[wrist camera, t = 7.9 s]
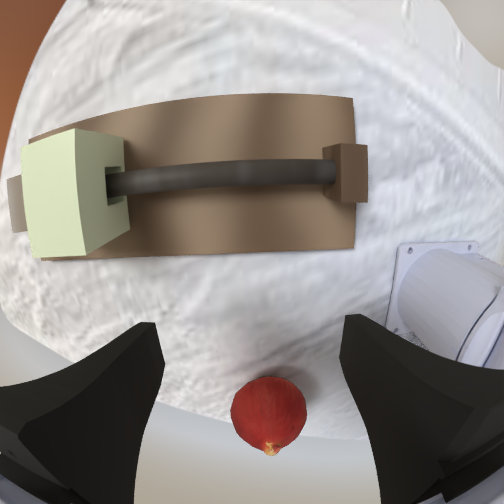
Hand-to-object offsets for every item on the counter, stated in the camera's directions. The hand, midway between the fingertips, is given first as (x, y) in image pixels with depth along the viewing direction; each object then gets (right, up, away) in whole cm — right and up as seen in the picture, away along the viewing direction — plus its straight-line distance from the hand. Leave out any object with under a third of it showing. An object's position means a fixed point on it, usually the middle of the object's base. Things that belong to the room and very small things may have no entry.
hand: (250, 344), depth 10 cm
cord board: (-5, +8, +7) cm, 12 cm away
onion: (+1, -8, +12) cm, 15 cm away
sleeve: (-10, +8, +6) cm, 14 cm away
